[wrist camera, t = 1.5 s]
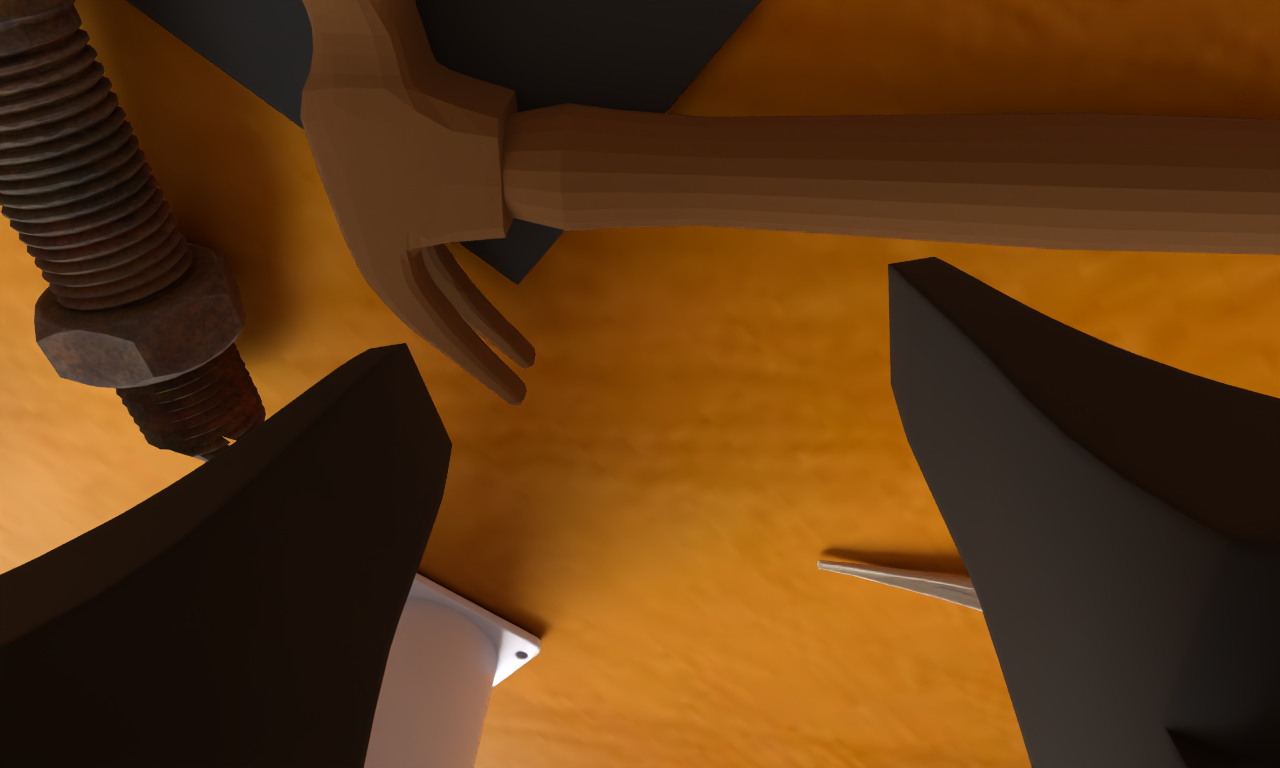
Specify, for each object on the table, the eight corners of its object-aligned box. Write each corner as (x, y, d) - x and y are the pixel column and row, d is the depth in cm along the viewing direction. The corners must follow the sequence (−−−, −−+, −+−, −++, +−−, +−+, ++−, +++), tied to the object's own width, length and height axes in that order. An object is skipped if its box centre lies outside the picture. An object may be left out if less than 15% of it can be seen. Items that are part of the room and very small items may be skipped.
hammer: (1720, -33, 16) (300, -123, 16) (1921, -7, 13) (228, -114, 13) (1367, 402, 23) (385, 342, 23) (1454, 474, 20) (349, 406, 20)
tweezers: (1302, 582, 27) (1337, 628, 26) (1223, 657, 30) (1250, 703, 28) (832, 490, 27) (838, 530, 26) (796, 573, 30) (799, 614, 28)
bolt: (250, 360, 26) (-6, -187, 16) (345, 409, 23) (110, -195, 14) (76, 462, 22) (-384, -166, 13) (168, 532, 20) (-311, -173, 10)
